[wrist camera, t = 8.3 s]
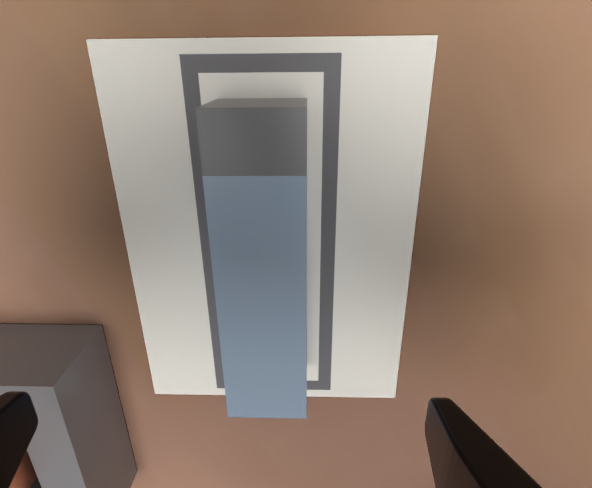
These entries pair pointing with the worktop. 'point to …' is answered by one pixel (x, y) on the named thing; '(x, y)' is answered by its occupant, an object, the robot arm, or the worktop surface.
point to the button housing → (69, 404)
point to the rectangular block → (258, 249)
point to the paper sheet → (320, 192)
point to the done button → (24, 474)
